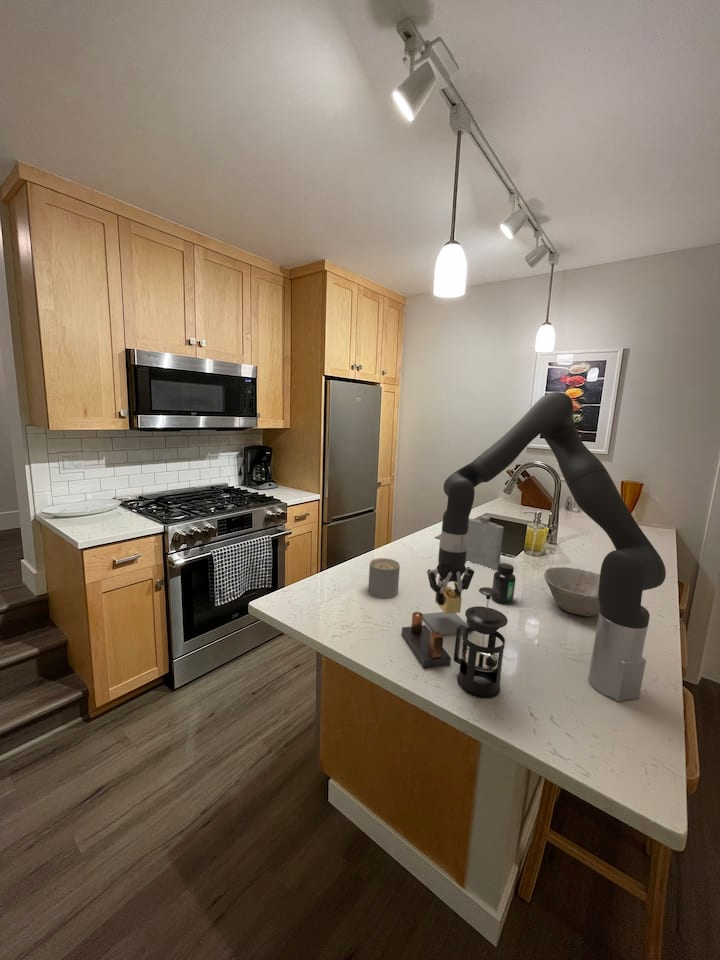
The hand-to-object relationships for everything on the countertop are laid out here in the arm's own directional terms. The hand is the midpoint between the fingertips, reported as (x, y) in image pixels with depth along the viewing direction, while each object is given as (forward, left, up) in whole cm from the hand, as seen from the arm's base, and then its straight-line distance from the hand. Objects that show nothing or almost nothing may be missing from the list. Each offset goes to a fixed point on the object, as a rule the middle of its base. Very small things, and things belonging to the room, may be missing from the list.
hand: (447, 603), depth 117 cm
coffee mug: (+24, +10, -7) cm, 27 cm away
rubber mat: (0, 0, -7) cm, 7 cm away
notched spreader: (+41, -36, -7) cm, 55 cm away
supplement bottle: (+11, -26, -7) cm, 29 cm away
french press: (-25, +5, -7) cm, 26 cm away
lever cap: (0, 0, -1) cm, 1 cm away
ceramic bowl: (+1, -47, -7) cm, 47 cm away
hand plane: (-10, +11, -7) cm, 16 cm away
